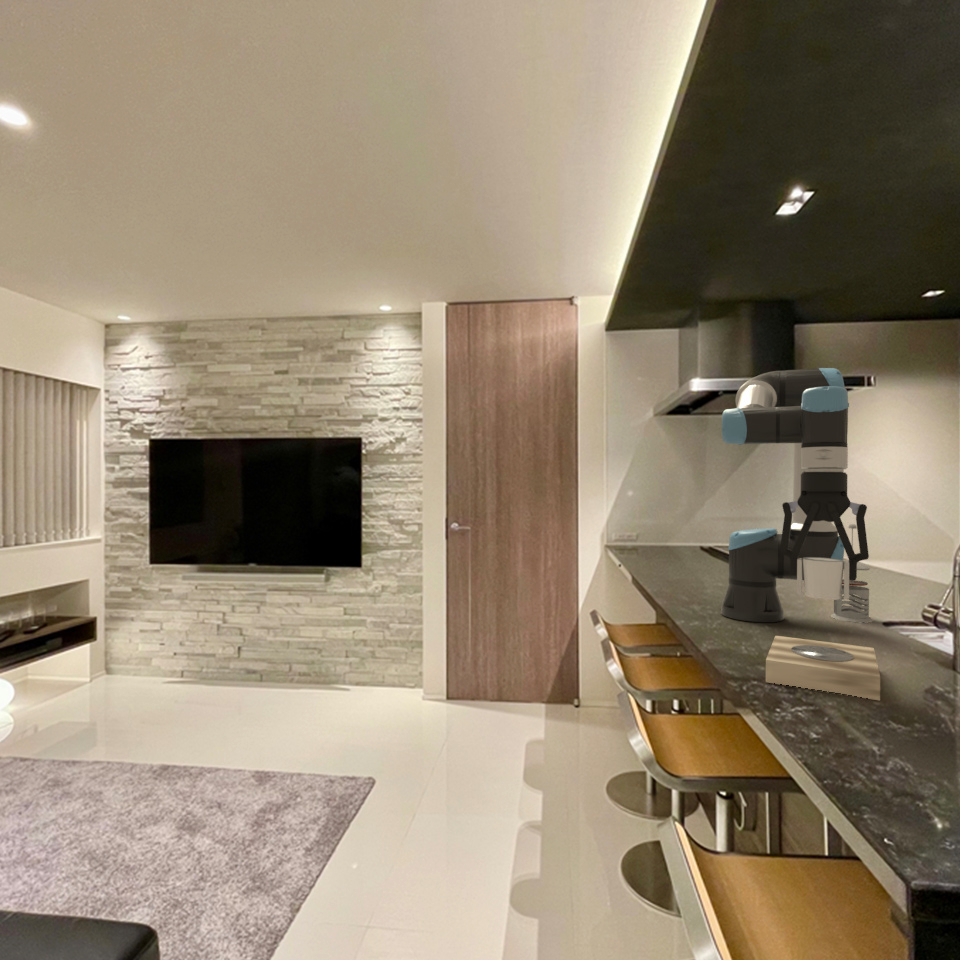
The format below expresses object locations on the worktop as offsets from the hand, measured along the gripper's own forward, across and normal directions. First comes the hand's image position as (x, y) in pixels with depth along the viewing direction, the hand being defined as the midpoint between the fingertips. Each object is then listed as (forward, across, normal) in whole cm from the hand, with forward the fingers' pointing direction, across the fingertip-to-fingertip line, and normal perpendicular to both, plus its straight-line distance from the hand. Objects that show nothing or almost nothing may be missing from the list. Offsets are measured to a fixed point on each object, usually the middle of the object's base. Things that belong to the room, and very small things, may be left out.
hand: (822, 595), depth 112 cm
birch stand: (+15, 0, 0) cm, 15 cm away
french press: (+15, +5, +59) cm, 61 cm away
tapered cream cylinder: (0, 0, 0) cm, 0 cm away
